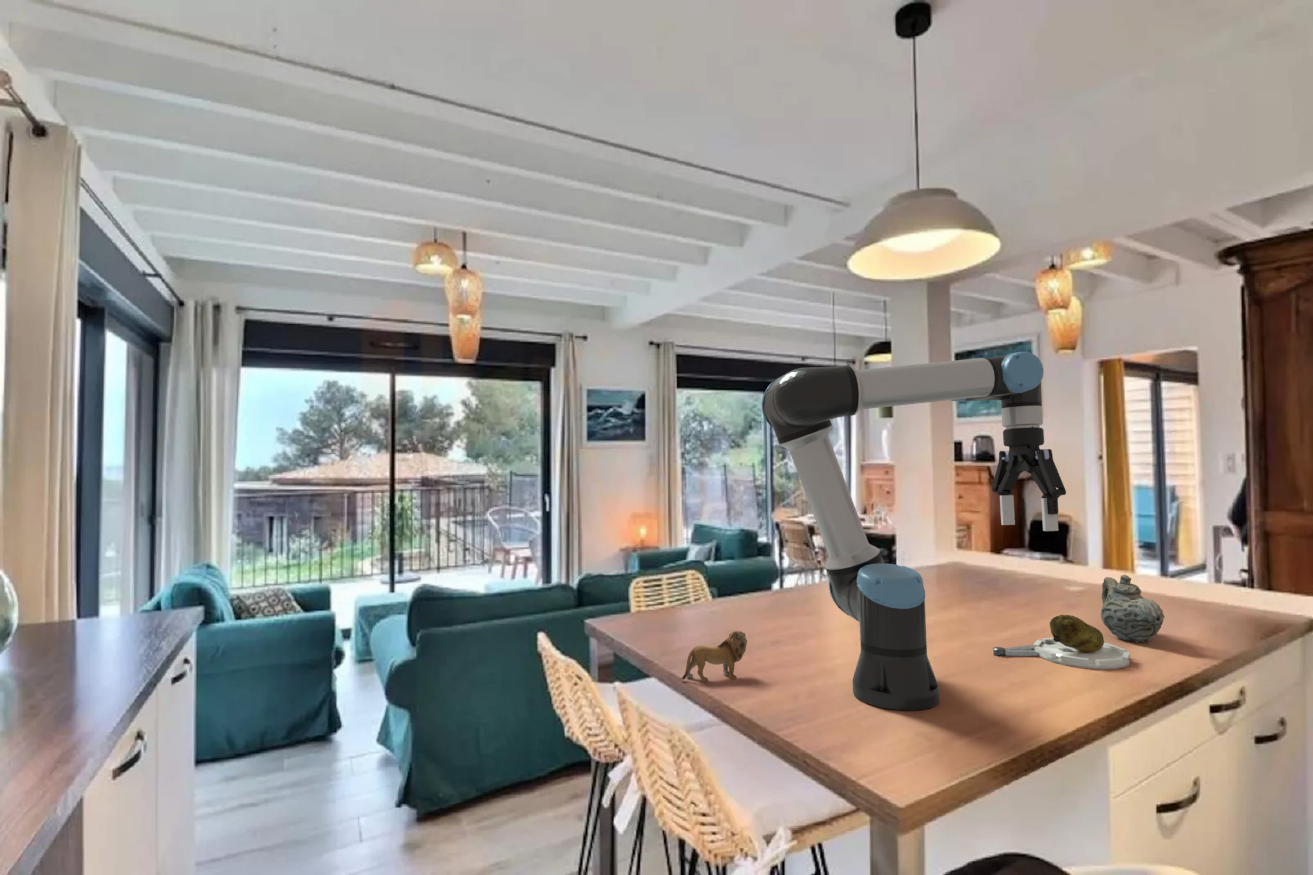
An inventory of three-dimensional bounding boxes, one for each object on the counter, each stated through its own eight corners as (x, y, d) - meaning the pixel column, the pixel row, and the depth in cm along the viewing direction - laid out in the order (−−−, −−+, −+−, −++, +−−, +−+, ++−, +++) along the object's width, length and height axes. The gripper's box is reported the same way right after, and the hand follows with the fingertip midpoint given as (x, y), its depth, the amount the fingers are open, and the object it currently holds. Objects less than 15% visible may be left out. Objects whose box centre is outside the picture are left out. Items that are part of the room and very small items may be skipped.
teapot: (1187, 652, 138) (1183, 583, 138) (1129, 651, 140) (1125, 582, 140) (1130, 627, 159) (1126, 567, 159) (1080, 626, 161) (1077, 567, 161)
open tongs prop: (1007, 661, 135) (1007, 654, 135) (982, 649, 144) (982, 643, 144) (1078, 657, 136) (1078, 651, 136) (1049, 645, 145) (1048, 639, 145)
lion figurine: (741, 669, 135) (740, 626, 135) (753, 676, 130) (751, 632, 130) (677, 678, 130) (676, 634, 131) (686, 686, 125) (685, 640, 126)
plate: (1072, 671, 128) (1071, 662, 128) (1018, 647, 144) (1017, 639, 145) (1150, 667, 129) (1150, 658, 129) (1088, 643, 146) (1087, 636, 146)
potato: (1123, 655, 133) (1120, 617, 133) (1066, 658, 132) (1064, 620, 132) (1092, 644, 141) (1090, 608, 142) (1038, 647, 140) (1036, 611, 141)
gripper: (1083, 422, 122) (1089, 532, 121) (1003, 430, 147) (1008, 522, 146) (1046, 423, 121) (1052, 534, 120) (972, 431, 146) (977, 523, 145)
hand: (1028, 527), depth 133 cm, fingers open, 13 cm apart
